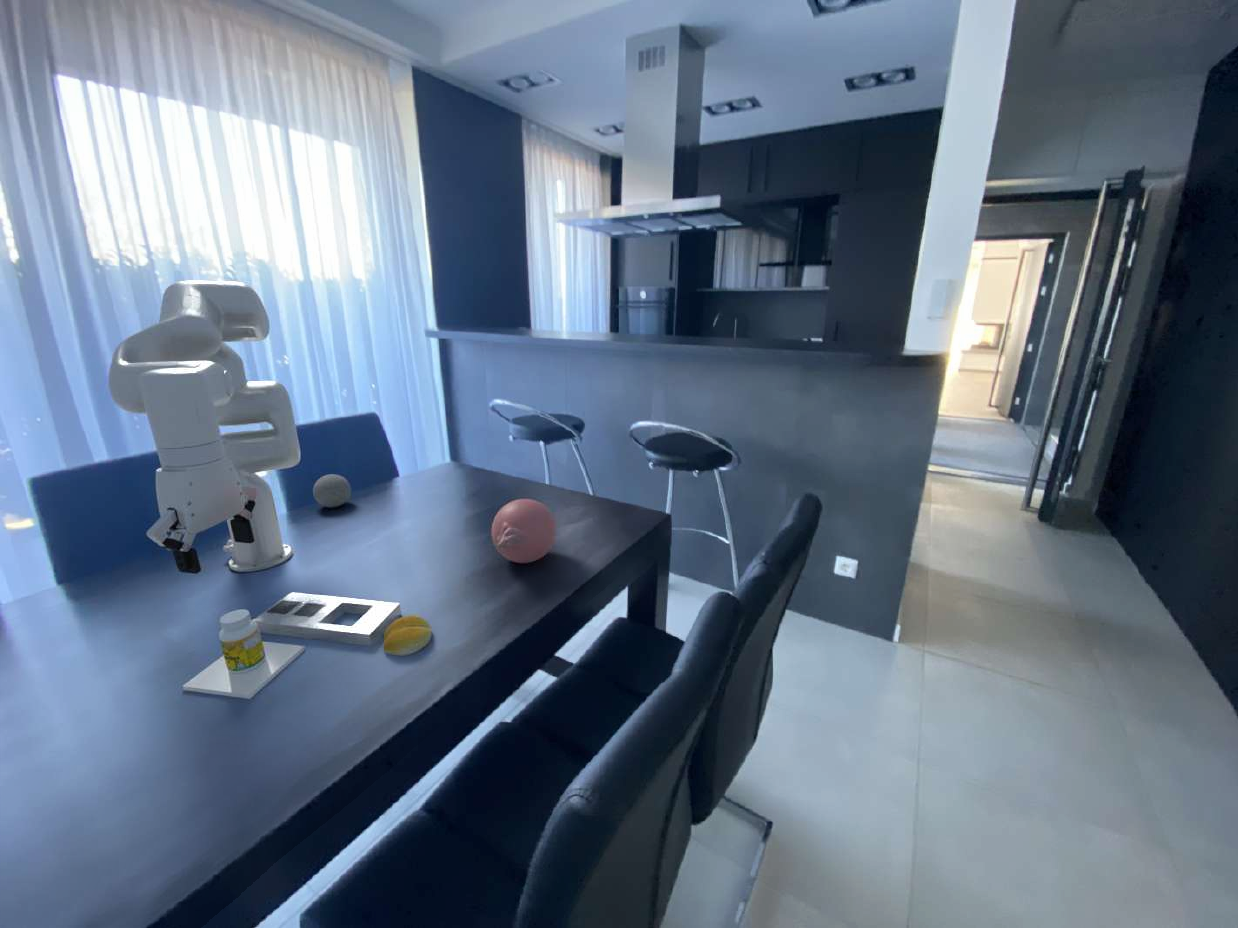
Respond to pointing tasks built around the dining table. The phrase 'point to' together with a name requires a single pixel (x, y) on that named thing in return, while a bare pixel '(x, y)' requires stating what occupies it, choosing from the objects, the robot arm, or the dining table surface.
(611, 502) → the dining table surface
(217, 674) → the plate
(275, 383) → the robot arm
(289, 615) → the grey board with squares
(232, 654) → the supplement bottle
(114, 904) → the dining table surface
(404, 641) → the bread roll
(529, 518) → the balloon
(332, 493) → the decorative ball
